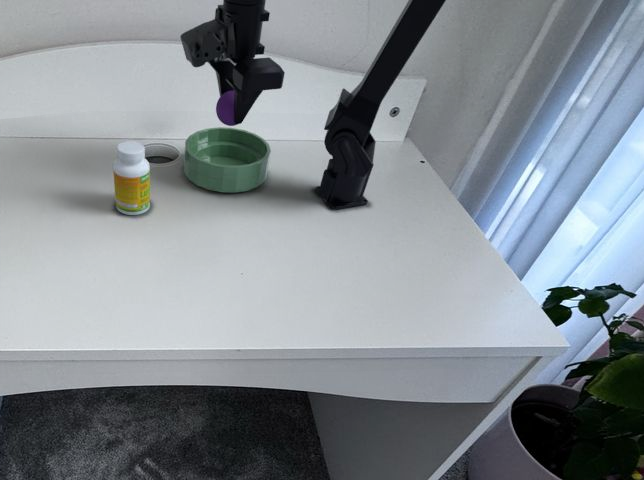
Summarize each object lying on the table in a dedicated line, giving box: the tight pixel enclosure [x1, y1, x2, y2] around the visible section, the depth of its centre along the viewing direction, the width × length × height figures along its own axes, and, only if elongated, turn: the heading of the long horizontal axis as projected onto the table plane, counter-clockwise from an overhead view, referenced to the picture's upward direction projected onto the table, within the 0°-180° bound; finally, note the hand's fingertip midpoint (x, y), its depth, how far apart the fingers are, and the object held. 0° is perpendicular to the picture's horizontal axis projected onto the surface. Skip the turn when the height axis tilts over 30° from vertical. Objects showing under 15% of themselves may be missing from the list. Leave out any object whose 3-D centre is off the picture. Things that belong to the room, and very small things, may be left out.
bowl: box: [183, 126, 272, 193], centre depth 85 cm, size 14×14×5 cm
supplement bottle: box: [113, 140, 151, 216], centre depth 76 cm, size 5×5×10 cm
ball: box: [215, 91, 246, 127], centre depth 79 cm, size 5×5×5 cm
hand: (231, 116), depth 80 cm, fingers closed on ball, 5 cm apart
